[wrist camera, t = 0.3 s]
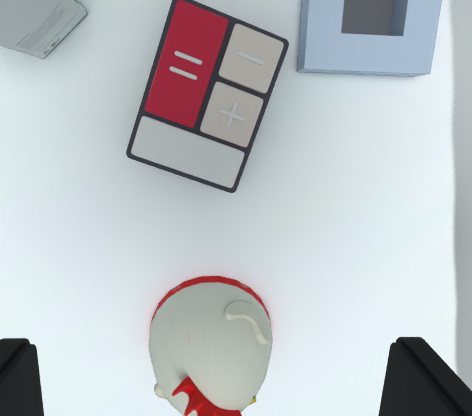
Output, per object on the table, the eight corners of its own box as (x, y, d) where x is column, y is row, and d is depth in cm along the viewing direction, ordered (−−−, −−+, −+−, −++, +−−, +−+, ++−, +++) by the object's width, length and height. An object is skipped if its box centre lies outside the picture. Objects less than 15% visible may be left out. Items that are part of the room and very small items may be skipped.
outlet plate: (306, -69, 34) (315, -85, 31) (433, -60, 35) (453, -75, 32) (296, 71, 37) (304, 68, 34) (413, 76, 38) (430, 73, 35)
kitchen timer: (217, 398, 46) (221, 529, 32) (127, 338, 44) (86, 453, 29) (293, 320, 44) (333, 423, 30) (203, 252, 41) (199, 329, 27)
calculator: (292, 38, 33) (235, 195, 36) (282, 48, 37) (232, 188, 40) (173, -12, 31) (122, 157, 34) (177, 5, 36) (131, 154, 38)
